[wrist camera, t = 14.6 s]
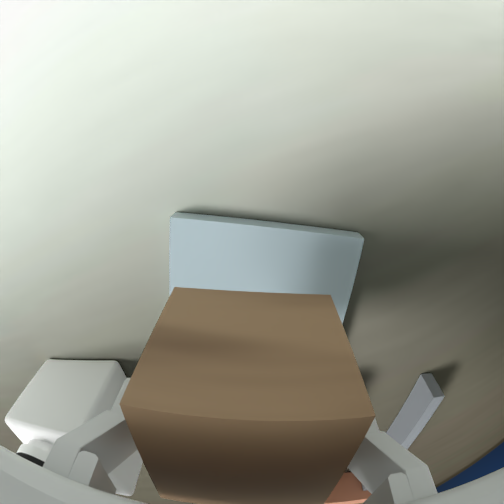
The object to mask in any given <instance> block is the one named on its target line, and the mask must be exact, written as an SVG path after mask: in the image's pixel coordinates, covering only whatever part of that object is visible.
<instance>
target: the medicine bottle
mask: <svg viewBox="0 0 504 504" xmlns="http://www.w3.org/2000/svg"><path fill="white" fill-rule="evenodd" d="M126 379H127V377H126V376H125V374H124V372H123V370H122V368H121V366H120V364H119V363H118V362H117V361H114V360H57V359H48V360H46V361H45V362H44V364H43V365H42V366H41V368H40V369H39V370H38V372H37V373H36V374H35V376H34V377H33V378H32V380H31V381H30V382H29V384H28V385H27V387H26V388H25V389H24V391H23V392H22V394H21V395H20V396H19V398H18V399H17V401H16V402H15V403H14V405H13V406H12V408H11V409H10V411H9V412H8V414H7V415H6V417H5V422H6V424H7V425H8V426H9V427H10V429H11V430H12V431H13V432H14V433H15V434H16V436H17V437H18V438H19V439H20V440H21V441H22V442H23V443H24V444H22V445H21V446H20V448H19V449H18V451H17V453H16V454H17V455H19V456H21V457H23V458H25V459H27V460H29V461H31V462H33V463H35V464H37V465H39V466H41V467H43V465H44V463H45V461H46V459H47V457H48V455H49V453H50V451H51V449H52V447H53V445H54V443H55V441H56V439H58V438H59V437H61V436H63V435H65V434H67V433H68V432H70V431H72V430H74V429H75V428H77V427H79V426H81V425H82V424H84V423H86V422H87V421H89V420H91V419H93V418H94V417H96V416H98V415H99V414H101V413H103V412H104V411H106V410H109V411H111V409H112V407H113V405H114V403H115V400H116V398H117V396H118V394H119V392H120V390H121V388H122V385H123V383H124V381H125V380H126ZM142 463H143V461H142V458H141V456H140V454H139V452H138V450H136V451H135V452H134V453H133V454H132V455H131V456H129V457H128V458H127V459H126V460H125V461H123V462H122V463H121V464H120V465H119V466H117V467H116V468H115V469H114V470H113V471H111V472H110V473H109V474H108V476H109V478H110V480H111V481H112V483H113V484H114V486H115V488H116V489H117V490H116V494H121V495H126V496H131V495H133V493H134V490H135V486H136V483H137V479H138V476H139V473H140V469H141V466H142Z"/></svg>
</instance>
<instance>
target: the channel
mask: <svg viewBox="0 0 504 504" xmlns="http://www.w3.org/2000/svg"><path fill="white" fill-rule="evenodd" d="M443 398H444V394H443V392H442V391H441V389H440V387H439V385H438V384H437V382H436V380H435V378H434V377H433V375H432V373H427V374H421V375H420V377H419V378H418V380H417V382H416V384H415V386H414V388H413V389H412V391H411V393H410V395H409V397H408V398H407V400H406V402H405V403H404V405H403V407H402V408H401V410H400V412H399V413H398V415H397V417H396V418H395V420H394V421H393V423H392V425H391V426H390V428H389V429H388V431H387V432H386V434H388V435H389V436H390V437H391V438H393V439H394V440H395V441H396V442H398V443H399V444H400V445H401V446H403V447H404V448H405V449H408V448H409V446H410V445H411V444H412V442H413V441H414V440H415V438H416V437H417V436H418V434H419V433H420V432H421V430H422V429H423V428H424V426H425V425H426V423H427V422H428V420H429V419H430V418H431V416H432V415H433V413H434V412H435V410H436V409H437V407H438V406H439V404H440V403H441V401H442V399H443ZM371 495H372V494H371V493H370V492H369V491H368V490H367V489H366V487H365V486H364V485H363V484H362V483H361V482H360V481H359V480H358V479H357V477H356V476H355V475H354V474H353V473H352V472H347V473H344V474H343V475H342V477H341V478H340V480H339V482H338V483H337V485H336V486H335V488H334V489H333V491H332V492H331V494H330V495H329V497H328V498H327V500H326V501H325V503H324V504H356V503H363V502H365V501H366V500H367V499H368V498H369V497H370V496H371Z"/></svg>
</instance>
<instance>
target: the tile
mask: <svg viewBox="0 0 504 504" xmlns="http://www.w3.org/2000/svg"><path fill="white" fill-rule="evenodd" d="M363 243H364V238H363V237H362V236H361V235H360V234H359V233H358V232H352V231H345V230H337V229H329V228H321V227H313V226H305V225H297V224H288V223H279V222H271V221H262V220H252V219H243V218H233V217H223V216H213V215H203V214H192V213H181V212H175V213H174V214H173V215H172V216H171V217H170V252H169V277H170V295H171V293H172V291H173V289H174V287H183V288H197V289H213V290H230V291H248V292H269V293H293V294H323V295H331V297H332V300H333V302H334V305H335V307H336V310H337V312H338V315H339V317H340V320H341V322H342V324H343V320H344V317H345V313H346V310H347V306H348V303H349V299H350V295H351V292H352V288H353V284H354V280H355V276H356V272H357V268H358V264H359V260H360V256H361V252H362V247H363Z"/></svg>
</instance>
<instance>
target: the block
mask: <svg viewBox="0 0 504 504" xmlns="http://www.w3.org/2000/svg"><path fill="white" fill-rule="evenodd" d="M119 404H120V407H121V410H122V412H123V415H124V418H125V420H126V423H127V425H128V428H129V430H130V433H131V435H132V438H133V440H134V442H135V445H136V447H137V449H138V452H139V454H140V456H141V458H142V461H143V463H144V465H145V467H146V469H147V471H148V473H149V475H150V477H151V479H152V481H153V483H154V485H155V487H156V489H157V491H158V493H159V495H160V497H161V498H165V499H170V500H176V501H183V502H190V503H197V504H324V503H325V501H326V500H327V498H328V497H329V495H330V494H331V492H332V491H333V489H334V488H335V486H336V485H337V483H338V482H339V480H340V478H341V477H342V475H343V474H344V472H345V470H346V469H347V467H348V465H349V464H350V462H351V460H352V459H353V457H354V455H355V453H356V452H357V450H358V448H359V446H360V445H361V443H362V441H363V439H364V437H365V435H366V434H367V432H368V430H369V428H370V426H371V424H372V422H373V420H374V418H375V413H374V410H373V407H372V404H371V401H370V398H369V395H368V393H367V390H366V387H365V384H364V381H363V378H362V376H361V373H360V370H359V367H358V365H357V362H356V359H355V357H354V354H353V351H352V348H351V346H350V343H349V341H348V338H347V335H346V333H345V330H344V328H343V325H342V322H341V320H340V317H339V315H338V312H337V310H336V307H335V305H334V302H333V300H332V297H331V295H323V294H293V293H269V292H248V291H230V290H213V289H197V288H183V287H174V289H173V291H172V293H171V295H170V297H169V299H168V301H167V303H166V305H165V307H164V309H163V311H162V313H161V315H160V317H159V319H158V321H157V323H156V325H155V327H154V329H153V332H152V334H151V336H150V338H149V340H148V342H147V344H146V346H145V348H144V350H143V353H142V355H141V357H140V359H139V361H138V363H137V366H136V368H135V370H134V372H133V374H132V376H131V379H130V381H129V383H128V385H127V388H126V390H125V392H124V394H123V397H122V399H121V401H120V403H119Z"/></svg>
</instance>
